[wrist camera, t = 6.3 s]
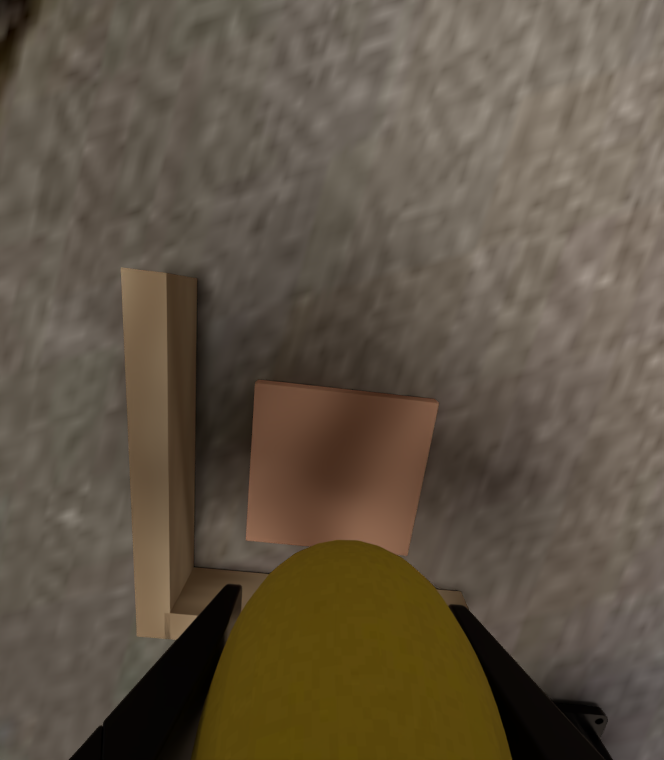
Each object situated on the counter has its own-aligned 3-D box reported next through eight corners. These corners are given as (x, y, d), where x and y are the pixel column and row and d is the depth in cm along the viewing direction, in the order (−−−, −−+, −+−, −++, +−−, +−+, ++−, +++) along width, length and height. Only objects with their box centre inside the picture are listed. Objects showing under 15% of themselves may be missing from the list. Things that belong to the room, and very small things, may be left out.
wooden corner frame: (533, 319, 13) (578, 323, 11) (454, 613, 17) (475, 664, 15) (160, 274, 13) (120, 267, 10) (165, 587, 17) (137, 636, 14)
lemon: (409, 636, 11) (613, 1521, 3) (247, 615, 10) (2, 1507, 3) (448, 494, 9) (1006, 1406, 2) (265, 467, 9) (-105, 1363, 1)
